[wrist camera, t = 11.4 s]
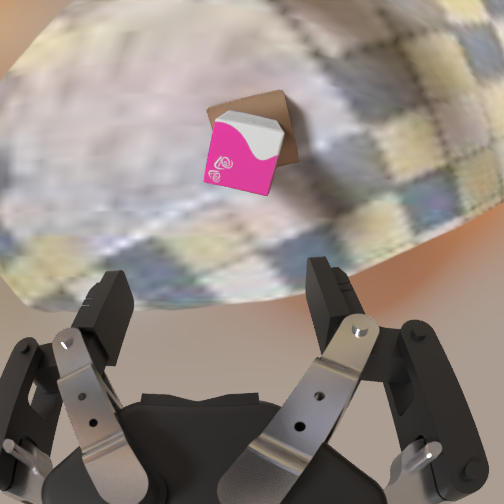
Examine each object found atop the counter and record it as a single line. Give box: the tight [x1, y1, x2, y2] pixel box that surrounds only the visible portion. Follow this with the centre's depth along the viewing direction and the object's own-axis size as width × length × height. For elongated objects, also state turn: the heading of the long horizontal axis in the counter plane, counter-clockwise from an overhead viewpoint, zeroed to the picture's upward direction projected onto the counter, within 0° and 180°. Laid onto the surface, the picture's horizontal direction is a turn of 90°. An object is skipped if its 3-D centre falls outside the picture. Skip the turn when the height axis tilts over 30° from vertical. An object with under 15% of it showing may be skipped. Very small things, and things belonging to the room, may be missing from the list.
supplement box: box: [204, 110, 285, 196], centre depth 28 cm, size 6×6×12 cm
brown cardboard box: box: [207, 90, 299, 167], centre depth 35 cm, size 9×9×4 cm
